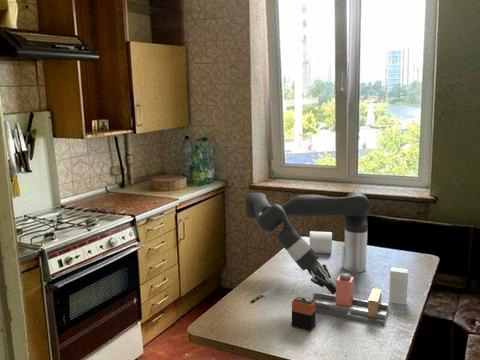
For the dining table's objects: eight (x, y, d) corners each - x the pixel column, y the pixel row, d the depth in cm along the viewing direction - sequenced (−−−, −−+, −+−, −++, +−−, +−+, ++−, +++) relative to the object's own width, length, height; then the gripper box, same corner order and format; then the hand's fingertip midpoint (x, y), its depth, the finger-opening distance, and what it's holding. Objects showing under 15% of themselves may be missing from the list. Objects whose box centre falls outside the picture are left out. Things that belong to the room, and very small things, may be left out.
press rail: (306, 311, 161) (306, 290, 160) (315, 297, 172) (315, 278, 171) (384, 325, 151) (385, 304, 150) (388, 309, 162) (389, 289, 160)
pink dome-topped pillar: (335, 307, 160) (336, 276, 158) (338, 301, 165) (339, 271, 163) (350, 310, 158) (351, 279, 156) (352, 303, 163) (354, 273, 161)
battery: (310, 332, 147) (311, 302, 145) (290, 327, 151) (291, 298, 149) (315, 326, 151) (316, 297, 149) (296, 321, 154) (296, 293, 152)
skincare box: (406, 299, 169) (408, 268, 167) (406, 305, 165) (408, 273, 163) (388, 297, 171) (390, 266, 169) (388, 302, 167) (390, 271, 165)
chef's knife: (283, 287, 182) (277, 285, 183) (283, 285, 182) (277, 282, 183) (256, 305, 167) (249, 303, 168) (256, 302, 166) (250, 300, 168)
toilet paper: (309, 255, 215) (309, 235, 213) (309, 248, 225) (310, 228, 223) (331, 256, 213) (332, 236, 212) (331, 249, 223) (331, 229, 221)
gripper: (300, 253, 172) (332, 290, 169) (289, 266, 160) (322, 306, 157) (315, 242, 169) (347, 279, 166) (304, 253, 157) (339, 294, 154)
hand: (335, 292), depth 162 cm, fingers closed
